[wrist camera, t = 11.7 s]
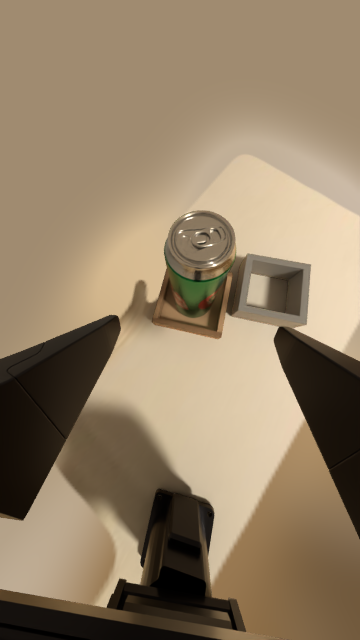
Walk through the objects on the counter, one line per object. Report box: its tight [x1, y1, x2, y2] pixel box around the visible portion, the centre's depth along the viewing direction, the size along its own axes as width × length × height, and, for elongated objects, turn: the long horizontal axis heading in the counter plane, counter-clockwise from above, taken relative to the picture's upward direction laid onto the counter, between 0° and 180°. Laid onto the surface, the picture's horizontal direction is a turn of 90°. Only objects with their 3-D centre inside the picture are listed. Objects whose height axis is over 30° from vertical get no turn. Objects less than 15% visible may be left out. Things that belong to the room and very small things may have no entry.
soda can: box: [164, 211, 236, 318], centre depth 16 cm, size 5×5×12 cm
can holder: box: [231, 254, 311, 328], centre depth 21 cm, size 8×8×3 cm
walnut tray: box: [152, 269, 233, 339], centre depth 21 cm, size 9×9×2 cm
